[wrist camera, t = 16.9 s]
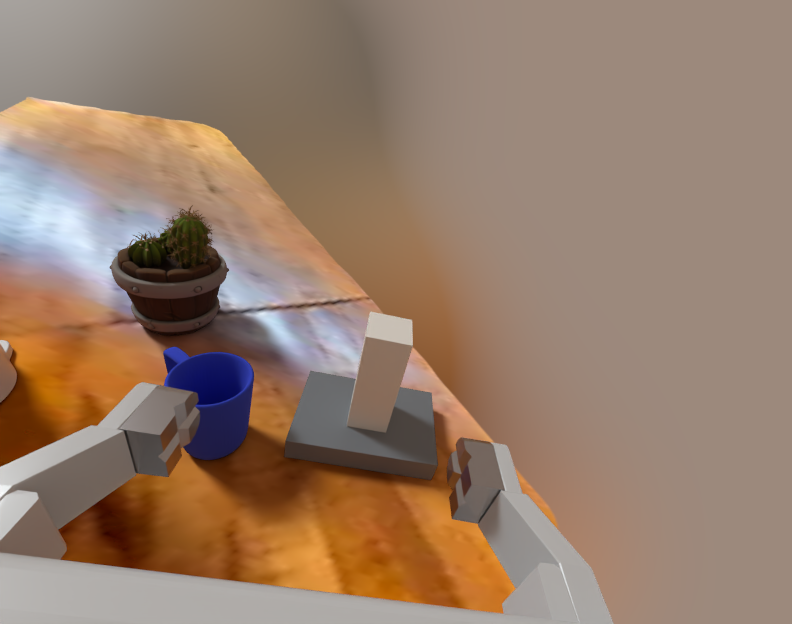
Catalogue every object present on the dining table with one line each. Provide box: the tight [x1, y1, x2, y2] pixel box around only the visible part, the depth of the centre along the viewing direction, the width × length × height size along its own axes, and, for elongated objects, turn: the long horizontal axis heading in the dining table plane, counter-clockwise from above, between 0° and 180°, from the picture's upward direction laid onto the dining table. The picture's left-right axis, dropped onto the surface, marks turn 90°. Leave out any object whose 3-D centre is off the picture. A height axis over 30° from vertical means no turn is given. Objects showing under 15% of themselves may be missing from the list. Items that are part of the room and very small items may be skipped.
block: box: [347, 312, 413, 433], centre depth 42 cm, size 5×5×14 cm
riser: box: [284, 371, 438, 480], centre depth 46 cm, size 18×12×3 cm, turn 88°
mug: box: [163, 347, 254, 460], centre depth 39 cm, size 8×12×10 cm
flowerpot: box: [110, 205, 229, 335], centre depth 52 cm, size 14×15×20 cm
